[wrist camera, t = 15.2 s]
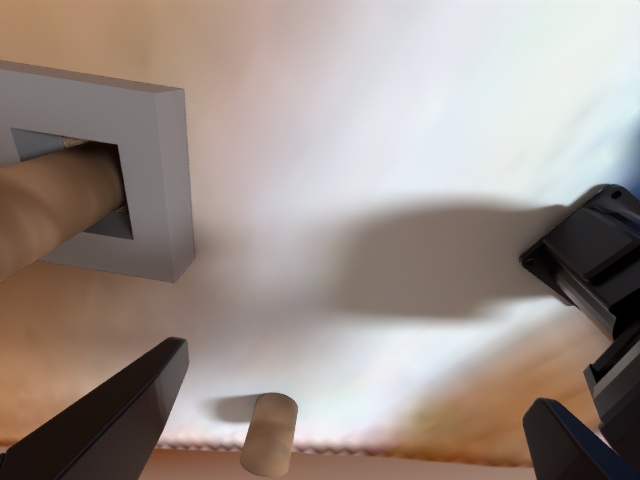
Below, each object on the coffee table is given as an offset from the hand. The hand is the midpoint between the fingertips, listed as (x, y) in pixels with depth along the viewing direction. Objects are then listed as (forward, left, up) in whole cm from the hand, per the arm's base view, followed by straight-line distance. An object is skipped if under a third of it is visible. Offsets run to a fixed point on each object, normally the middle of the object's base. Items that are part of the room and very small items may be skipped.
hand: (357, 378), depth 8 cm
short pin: (-7, +21, -13) cm, 26 cm away
